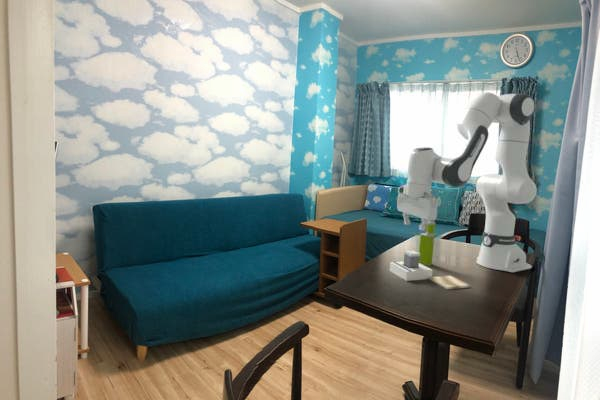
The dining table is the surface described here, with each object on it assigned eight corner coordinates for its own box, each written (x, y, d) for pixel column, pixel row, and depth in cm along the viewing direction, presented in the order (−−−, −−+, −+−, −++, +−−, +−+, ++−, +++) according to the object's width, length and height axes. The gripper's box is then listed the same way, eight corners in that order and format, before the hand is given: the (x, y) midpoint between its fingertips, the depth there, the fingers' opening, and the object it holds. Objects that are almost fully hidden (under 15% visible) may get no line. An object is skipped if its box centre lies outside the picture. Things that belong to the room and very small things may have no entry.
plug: (411, 272, 149) (413, 250, 148) (417, 276, 145) (420, 253, 144) (402, 273, 148) (404, 250, 147) (408, 277, 144) (410, 254, 143)
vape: (429, 266, 158) (434, 219, 155) (416, 262, 162) (420, 216, 159) (433, 264, 161) (438, 218, 158) (419, 260, 165) (424, 215, 162)
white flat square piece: (413, 269, 154) (414, 259, 153) (431, 278, 143) (432, 269, 143) (389, 270, 150) (390, 261, 149) (406, 280, 140) (407, 270, 139)
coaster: (450, 277, 146) (450, 275, 145) (469, 287, 136) (469, 285, 136) (428, 279, 142) (428, 277, 142) (446, 289, 133) (447, 287, 133)
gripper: (443, 195, 133) (439, 233, 135) (409, 187, 152) (405, 221, 154) (428, 194, 131) (424, 234, 133) (395, 187, 150) (392, 221, 152)
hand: (414, 227), depth 144 cm, fingers open, 8 cm apart
